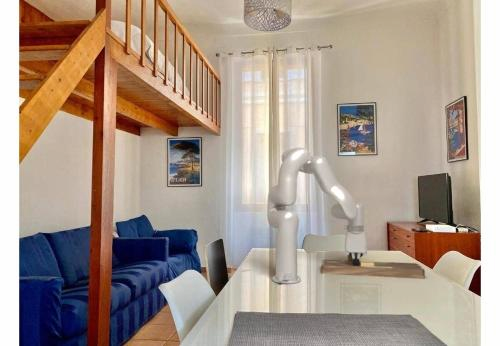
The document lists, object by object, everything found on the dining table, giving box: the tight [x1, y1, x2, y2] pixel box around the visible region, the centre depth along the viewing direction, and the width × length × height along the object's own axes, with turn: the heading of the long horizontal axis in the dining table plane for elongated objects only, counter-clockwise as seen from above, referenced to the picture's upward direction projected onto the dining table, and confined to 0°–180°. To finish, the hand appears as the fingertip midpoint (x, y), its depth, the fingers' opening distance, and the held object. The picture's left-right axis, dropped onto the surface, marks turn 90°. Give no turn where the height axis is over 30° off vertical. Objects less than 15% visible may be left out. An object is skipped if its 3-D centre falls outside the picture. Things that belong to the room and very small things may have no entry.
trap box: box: [321, 259, 426, 280], centre depth 180 cm, size 12×46×4 cm, turn 78°
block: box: [359, 260, 374, 267], centre depth 180 cm, size 6×6×5 cm
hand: (355, 266), depth 182 cm, fingers closed
